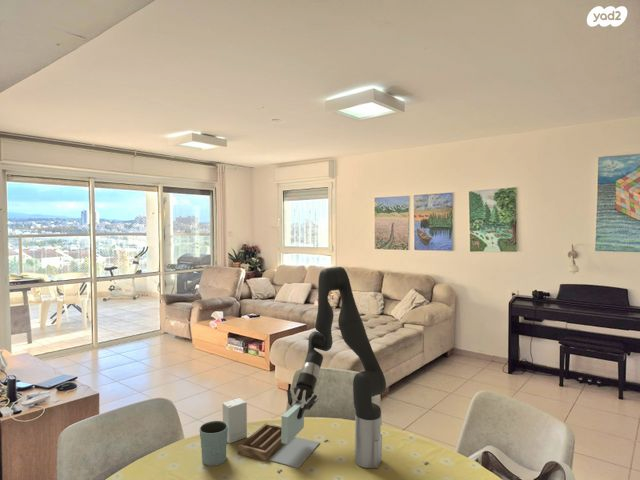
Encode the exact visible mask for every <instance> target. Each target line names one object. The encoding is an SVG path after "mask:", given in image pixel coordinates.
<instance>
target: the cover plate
mask: <svg viewBox="0 0 640 480" xmlns="http://www.w3.org/2000/svg"><path fill="white" fill-rule="evenodd" d="M301 403H302V401H300V402H297V403H296V404H295V405H294V406H293V407H291V406H290V408H289V409H288V410H286V412H284V413H283V414H282V415H281V443H284V444H288V443H289V442H290V441H291V440H292V439H293V438H294V437H297V435H298V434H299V433H300V432H301V431H302V430H303V429H304V428H305V412H304V413H303V416H302V418H301V419H300V420H299V419H298V418H297V415H298V412H299V409H300V408H301ZM284 444H283V445H284Z"/></svg>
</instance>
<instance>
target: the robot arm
mask: <svg viewBox="0 0 640 480" xmlns="http://www.w3.org/2000/svg"><path fill="white" fill-rule="evenodd" d="M317 284H318V288H317V289H318V290H317V291H318V293H317V299H318V300H317V313H316V319H315V324H314V328H315V330H314V331H312V332H311V333H310V334H309V336H308V340H307V341H308V346H307V353H306V357H305V360H304V363H303V365H302V367H301V370H300V373H299V375H298V378H297V380H296V385H295V387H294V388H293V389H287V390H286V395H287V396H286V397H287V404H288V405H289V406H290V408H291V407H293V406H294V405H295V404H296V403H297V402H302V403H301V408H300V409H299V412H298V415H297V418H298V419H299V420H300V419H301V418H302V416H303V413H304V414H305V411H306V410H308V411H310V410H311V408H312V407H314V405H315V404H316V403H317V402H318V400H319V397H318V395H317V394H315V392H314V391H315V387H316V385H317V382H318V379H319V375H320V371H321V366H322V364H323V361H324V355H322V353H320V352H319V351H323V352H328V351H330V350H331V349H332V347H333V334H332V327H333V326H332V325H333V321H334V316H335V315H334V310H333V308H332V305H331V303H330V301H329V294H330V292H334V291H339V295H340V298H341V307H340V311H339V316H338V319H337V320H338V321H337V322H338V327H339V331H340V334H341V337H342V339H343V341H344V343H345V344H346V346H348V347H349V348H350V350H352V352H354V353H355V355H356V356H357V357H358V358H359V360H360V362H361V364H362V365H363V369H364V370H363V371H359V372H356V373H355V374H354V377H353V379H352V380H353V382H352V394H353V397H352V398H353V406H354V410H355V414H354V415H355V419H354V420H355V422H354V423H355V425H354V428H355V430H354V431H355V433H354V436H355V437H354V461H355V462H354V463H355V464H356V465H357V466H359V467H361V468H365V469H379V466H380V465H381V462H382V461H383V435H382V434H381V431H382V430H381V429H382V423H381V422H382V421H381V420H382V408H381V407H380V406H379V405H378V404H376V403H374V402H373V400H372V398H373V397H376V396H378V395H382V394H383V393H384V392H385V391H386V388H387V382H386V378H385V377H386V376H385V375H384V372H383V370H382V367H381V366H380V364H379V361H378V359H377V357H376V355H375V353H374V350H373V348H372V345H371V342H370V340H369V337H368V334H367V331H366V329H365V325H364V323H363V320H362V317H361V315H360V312H359V309H358V306H357V304H356V301H355V297H354V294H353V290H352V285H351V281H350V279H349V275H348V273H347V271H346V269H345V268H344V267H342V266H335V267H329V268H328V267H327V268H323V269H321V270H320V273H319V275H318V283H317ZM317 350H319V351H317ZM293 396H294V397H293ZM309 399H310V400H309ZM308 400H309V401H308Z"/></svg>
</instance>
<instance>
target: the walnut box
mask: <svg viewBox="0 0 640 480" xmlns="http://www.w3.org/2000/svg"><path fill="white" fill-rule="evenodd" d="M281 426H282V425H281ZM281 426H280V425H275V424H272V423H268V422H267V423H264V424H263V425H262V426H260V427H259V428H258V429H257V430H255V431H254V432H253V433H252V434H250V435H249V436H247V437H246V439H245V440H243V441H242V442H241V443H240V444H238V448H237V449H238V454H239V455H241V456H246V457H251V458H254V459H257V460H262V461H265V462H266V461H267V460H269V459H270V458H271V457H272V456H273V455H274V454H275V453H276V452H277V451H278V450H279V449H280V448H281V447H282V446H283V445H284V443H281Z"/></svg>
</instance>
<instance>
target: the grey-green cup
mask: <svg viewBox="0 0 640 480" xmlns="http://www.w3.org/2000/svg"><path fill="white" fill-rule="evenodd" d="M227 432H228V425H227V423H225V422H223V420H213V421H208V422H205V423H203V424H201V425H200V427H199V436H200V448H201V461H202V464H203V465H205V466H218V465H221V464H222V463H224V462H225V461H226V460H227V445H228V442H227Z"/></svg>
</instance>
